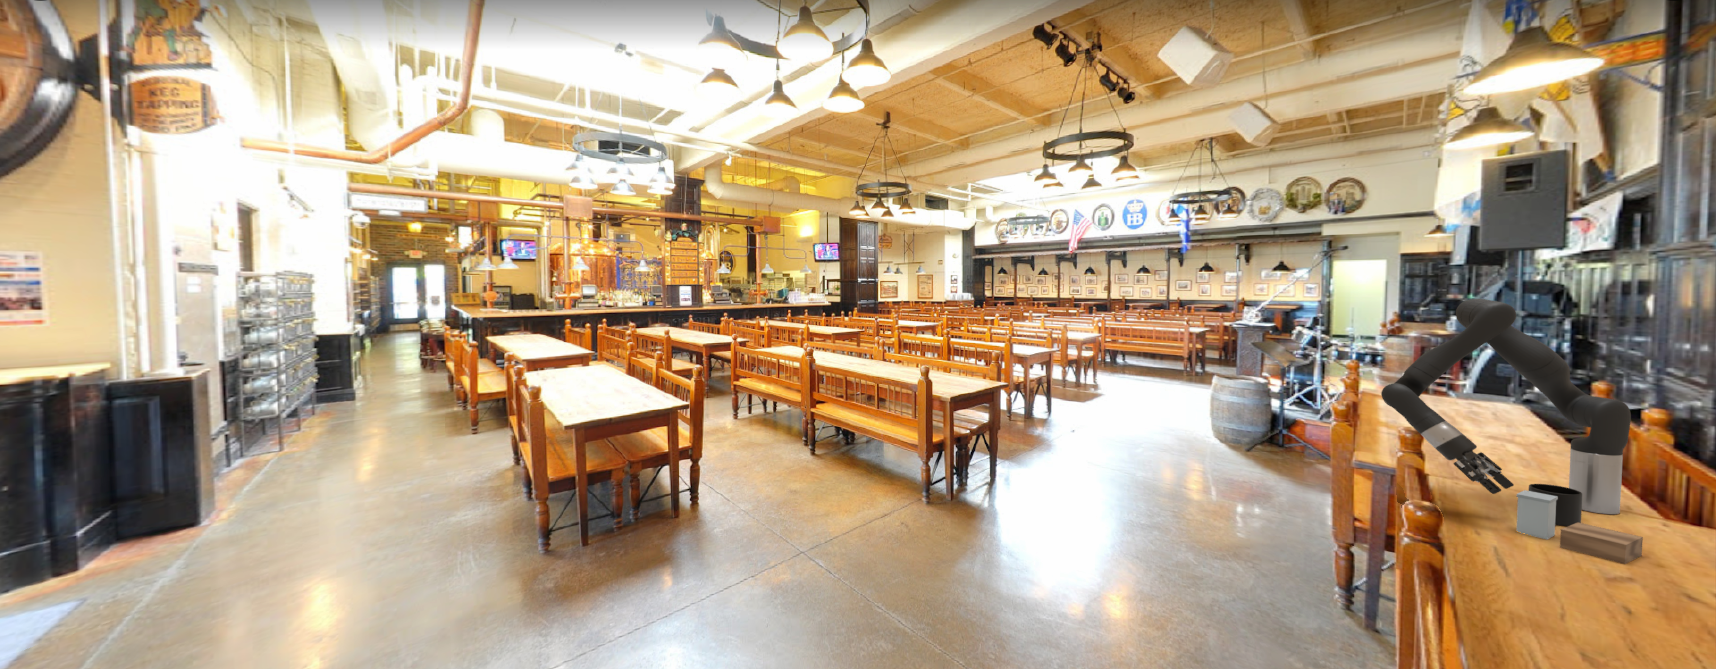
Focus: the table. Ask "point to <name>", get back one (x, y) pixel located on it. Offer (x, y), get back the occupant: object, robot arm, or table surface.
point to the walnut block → (1601, 542)
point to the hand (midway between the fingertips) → (1504, 489)
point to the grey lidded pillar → (1536, 514)
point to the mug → (1563, 502)
